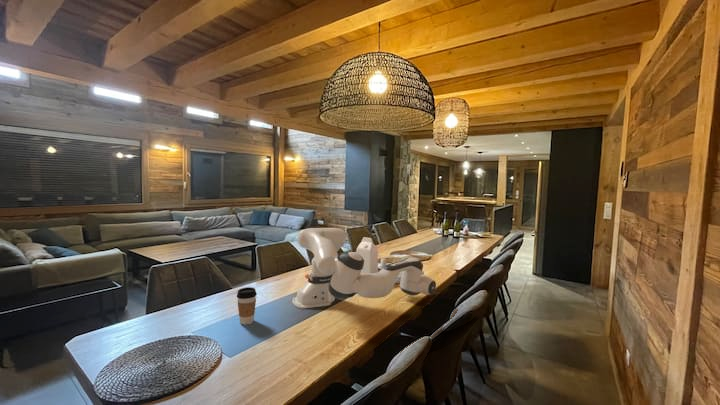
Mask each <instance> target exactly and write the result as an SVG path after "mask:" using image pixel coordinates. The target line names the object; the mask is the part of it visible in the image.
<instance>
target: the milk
mask: <svg viewBox="0 0 720 405" xmlns="http://www.w3.org/2000/svg"><path fill="white" fill-rule="evenodd" d="M378 251H379V250H378V247H377V246H376V244H375V243H374V241H373V238H371V237H368V236H367V237H365V236H364V237H362V239H361V242H360V243H359V244H358V246H357V248H356V251H355V253H357V254H359V255H360V256H362V258H363V259H364V266H363V269H362V270H361V273H360V274H362V275H365V274H370V273H377V272H379V262H378V261H379V259H378V258H379V256H378V253H379V252H378Z"/></svg>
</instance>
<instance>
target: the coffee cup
mask: <svg viewBox="0 0 720 405" xmlns="http://www.w3.org/2000/svg"><path fill="white" fill-rule="evenodd" d="M256 296H257V291H256V288H254V287H243V288H242V287H241V288H240V289H238V290H237V293H236V298H237V311H238V316H239V324H240V325H241V324H243V325H242V326H247V325H246V324H249V325H251V324H253V323H254V322H255V313H256V311H255V310H256V300H257V297H256ZM253 321H254V322H253ZM252 322H253V323H252Z"/></svg>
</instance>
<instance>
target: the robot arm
mask: <svg viewBox="0 0 720 405" xmlns="http://www.w3.org/2000/svg"><path fill="white" fill-rule="evenodd" d="M346 242H347V234H346V232H345V230H344V229H342V228H337V227H308V228H304V229H301V230H300V231H299V233H298V235H297V243H298V246H300V247H301V248H302V249H306V250H309V251H310V252H312V253H313V258H312V259H311V273H310V274H308V273H306V274H305V275H304V278H306V279H307V281H305V283H304V284H303V285H302V286H301V287H299V288H298V289H297V291H296V292H297V293H296V296H295V297H294V296H293V298H292V300H291V302H292V304H293V305H294V306H295V307H296V308H299V309H309V308H310V309H311V308H319V307H320V308H321V307H327V306H331V305H332V303H333V302H334V301H335V299H339V300H344V299H348V298H353V297H354V296H355V295H356V294H357V295H358V296H359V297H361V298H367V299H379V298H380V299H381V298H384V297H387V296H389V295H390V294H391V293H392V291H393V290H394V287H395V286H396V285H395V283H400V284H399V288H400V290H401V291H402V293H404V294H406V295H409V296H417V295H419V294H421V293H422V294H426V295H428V296H430V295H433V294H434V293H435V291H436V288H437V282H436V281H435V280H434V279H433V278H431V277H429V276H427V275H425V273H424V272H425V271H424V270H423V269H424V264H423V262H422V260H420V259H419V258H417V257H407V258H405V259H403V260H400V261H395V262H391V263H388V264H387V265H386V266H385V267H384V268H383V269H382V270H381V269H380V270H378V272H377V273H370V274H365V275H362V274H360V273H361V270H362V269H363V266H364V259H363V258H362V256H360V255H359V254H357V253H356V251H348V250H347V251H343V252H340V253H338V251H339V250H340V249H341V248H342V247H344V245H345V244H346ZM401 271H402V272H401Z"/></svg>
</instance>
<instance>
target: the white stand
mask: <svg viewBox="0 0 720 405" xmlns="http://www.w3.org/2000/svg"><path fill="white" fill-rule="evenodd" d="M387 262H388V259H387V258H386V257H385V258H383V257H382V258H380V271H381V270H382V269H383V268H384V267H385V266H386V265H388V264H387Z"/></svg>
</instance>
